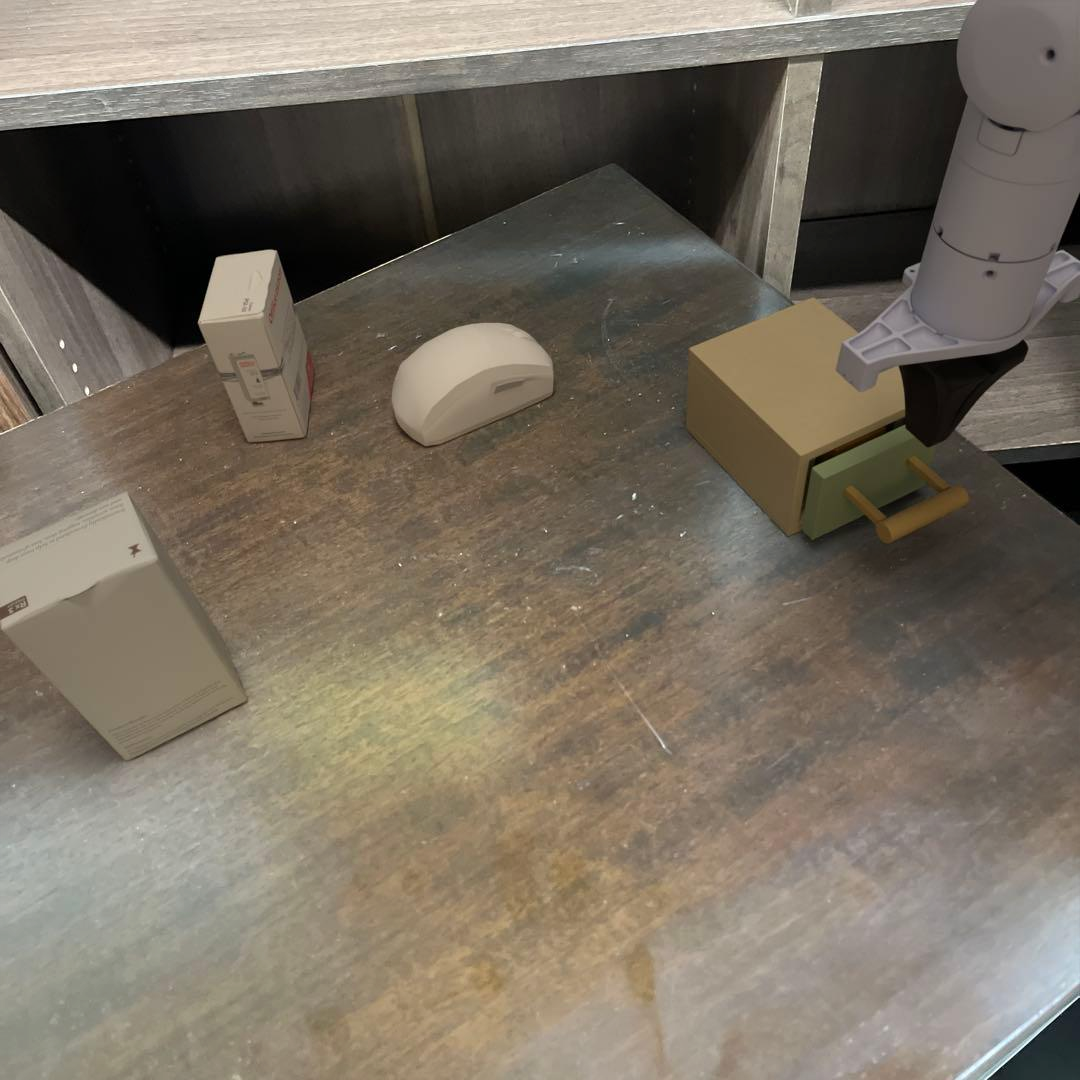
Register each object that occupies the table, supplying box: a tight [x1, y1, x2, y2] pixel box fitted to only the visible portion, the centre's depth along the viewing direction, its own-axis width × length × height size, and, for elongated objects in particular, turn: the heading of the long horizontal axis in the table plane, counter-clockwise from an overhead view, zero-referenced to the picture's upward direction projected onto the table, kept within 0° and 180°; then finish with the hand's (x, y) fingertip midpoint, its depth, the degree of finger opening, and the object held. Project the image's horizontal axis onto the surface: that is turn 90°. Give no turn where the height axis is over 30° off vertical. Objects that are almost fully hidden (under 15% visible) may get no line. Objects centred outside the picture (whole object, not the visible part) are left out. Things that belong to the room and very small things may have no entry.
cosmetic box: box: [0, 491, 248, 762], centre depth 56 cm, size 8×6×15 cm
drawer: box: [801, 417, 970, 544], centre depth 66 cm, size 16×9×6 cm, turn 27°
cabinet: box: [685, 296, 905, 537], centre depth 69 cm, size 13×11×8 cm
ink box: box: [197, 249, 315, 443], centre depth 75 cm, size 9×5×12 cm, turn 3°
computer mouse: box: [390, 322, 555, 447], centre depth 76 cm, size 6×13×6 cm, turn 118°
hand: (925, 433), depth 57 cm, fingers closed
